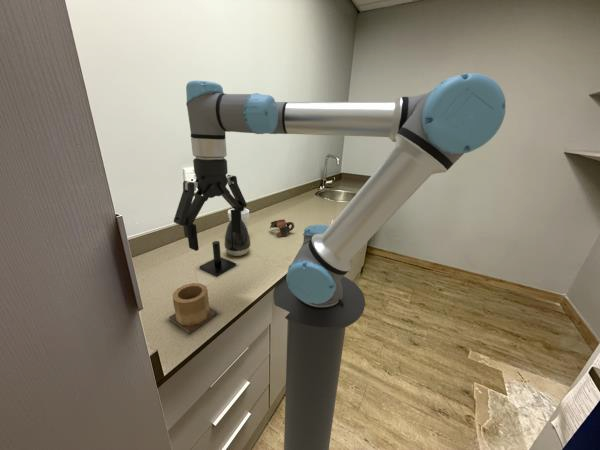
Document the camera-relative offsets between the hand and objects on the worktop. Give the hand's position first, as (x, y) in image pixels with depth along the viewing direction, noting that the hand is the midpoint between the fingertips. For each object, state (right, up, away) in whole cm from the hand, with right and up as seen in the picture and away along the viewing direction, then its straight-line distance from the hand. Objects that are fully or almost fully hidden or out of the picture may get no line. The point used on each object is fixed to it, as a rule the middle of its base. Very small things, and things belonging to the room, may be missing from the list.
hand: (216, 240), depth 64 cm
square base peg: (-8, -11, +24) cm, 28 cm away
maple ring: (-6, -20, 0) cm, 21 cm away
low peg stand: (-6, -21, 0) cm, 21 cm away
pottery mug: (+13, 0, +56) cm, 58 cm away
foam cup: (-6, -2, +50) cm, 50 cm away
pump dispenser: (-3, -8, +35) cm, 36 cm away
